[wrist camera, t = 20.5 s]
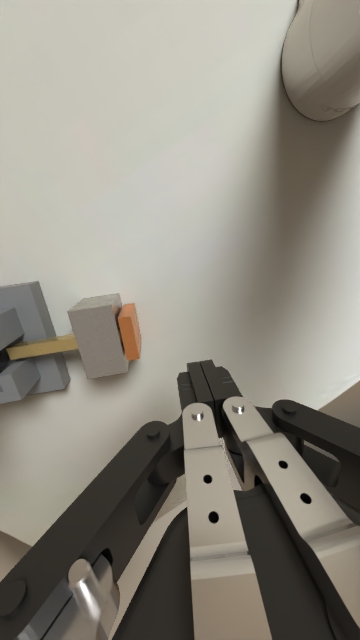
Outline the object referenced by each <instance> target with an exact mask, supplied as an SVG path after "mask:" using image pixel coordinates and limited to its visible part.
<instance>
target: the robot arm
mask: <svg viewBox="0 0 360 640" xmlns="http://www.w3.org/2000/svg"><path fill="white" fill-rule="evenodd" d="M282 75H283V83H284V86H285V89H286V92H287V95H288V97H289V99H290V100H291V102H292V104H293V105H294V107H295V108H296V109H297V110H298V111H299V112H300V113H301V114H303V115H304V116H306V117H307V118H310V119H313V120H316V121H327V120H331V119H335V118H337V117H339V116H341V115H343V114H344V113H346V112H347V111H349V110H350V109H352V108H354V107H355V106H357V105H359V104H360V0H299V8H298V11H297V14H296V16H295V18H294V20H293V21H292V23H291V25H290V27H289V30H288V33H287V36H286V39H285V42H284V47H283V53H282ZM187 371H188V372H183V373H179V376H178V378H177V382H178V390H179V397H180V404H181V410H182V414H181V416H180V417H179V419H178V420H176V421H175V422H173V423H171V424H169V425H166V424H165V423H164V422H161V421H152V422H149V423H147V424H145V425H144V426H142V427H141V428H140V429H139V431H138V432H137V433H136V434H135V435H134V436H133V437H132V438H131V439H130V440H129V442H128V443H127V444H126V445H125V446H124V447H123V448H122V449H121V450H120V451H119V453H118V454H117V455H116V456H115V457H114V458H113V459H112V460H111V461H110V462H109V463H108V465H107V466H106V467H105V468H104V469H103V470H102V471H101V472H100V473H99V474H98V476H97V477H96V478H95V479H94V480H93V481H92V482H91V483H90V484H89V485H88V487H87V488H86V489H85V490H84V491H83V492H82V493H81V494H80V495H79V496H78V497H77V499H76V500H75V501H74V502H73V503H72V504H71V505H70V506H69V507H68V508H67V510H66V511H65V512H64V513H63V514H62V515H61V516H60V517H59V518H58V519H57V521H56V522H55V523H54V524H53V525H52V526H51V527H50V528H49V529H48V530H47V531H46V533H45V534H44V535H43V536H42V537H41V538H40V539H39V540H38V541H37V542H36V544H35V545H34V546H33V547H32V548H31V549H30V550H29V551H28V552H27V554H26V555H25V556H24V557H23V558H22V559H21V560H20V561H19V562H18V563H17V565H15V567H14V568H13V569H12V570H11V571H10V572H9V573H8V574H7V575H6V577H5V578H4V579H3V580H2V581H1V582H0V640H108V637H109V634H110V631H111V629H112V626H113V624H114V622H115V619H116V616H117V613H118V609H119V603H120V592H119V587H118V584H117V581H118V580H119V578H120V576H121V575H122V573H123V571H124V570H125V568H126V566H127V565H128V563H129V561H130V559H131V558H132V556H133V554H134V553H135V551H136V549H137V548H138V546H139V544H140V543H141V541H142V539H143V537H144V536H145V534H146V532H147V531H148V529H149V527H150V526H151V524H152V522H153V521H154V519H155V517H156V516H157V514H158V512H159V510H160V509H161V507H162V505H163V504H164V502H165V500H166V499H167V497H168V495H169V494H170V492H171V490H172V489H173V487H174V485H175V483H176V479H177V478H178V477H180V476H181V475H183V474H185V477H186V493H187V507H186V508H185V509H184V510H182V511H181V512H180V513H179V514H178V515H177V516H176V517H175V518H174V519H173V521H172V522H171V523H170V525H169V526H168V528H167V530H166V531H165V534H164V536H163V537H162V539H161V541H160V544H159V546H158V547H157V550H156V551H155V553H154V555H153V557H152V560H151V562H150V564H149V566H148V568H147V570H146V572H145V574H144V576H143V578H142V580H141V582H140V584H139V586H138V588H137V590H136V592H135V594H134V596H133V598H132V600H131V602H130V604H129V606H128V608H127V610H126V612H125V614H124V616H123V618H122V620H121V622H120V624H119V626H118V628H117V630H116V632H115V634H114V636H113V638H112V640H360V428H358V427H356V426H353V425H351V424H349V423H346V422H344V421H341V420H339V419H336V418H334V417H331V416H329V415H326V414H324V413H322V412H319V411H317V410H314V409H312V408H309V407H307V406H304V405H302V404H299V403H297V402H294V401H291V400H279V401H276V402H275V403H274V404H273V406H272V408H261V407H256V406H254V405H253V404H252V403H251V402H250V401H249V400H248V399H246V398H243V396H242V395H241V393H240V391H239V389H238V388H237V386H236V384H235V382H234V381H233V379H232V377H231V375H230V374H229V372H228V370H226V369H225V368H223V367H222V366H221V367H215V365H214V363H213V361H212V360H205V361H200V362H193V363H187ZM222 437H223V438H224V441H225V451H226V454H227V456H228V458H229V461H230V463H231V465H232V468H233V470H234V472H235V475H236V477H237V479H238V482H239V484H240V486H241V489H242V491H237V490H233V487H232V484H231V480H230V476H229V471H228V467H227V463H226V459H225V455H224V451H223V447H222V445H220V443H219V439H218V438H222ZM304 440H305V441H307V442H309V443H311V444H313V445H315V446H317V447H319V448H321V449H323V450H325V451H327V452H329V453H331V454H333V455H334V456H335V457H336V458H337V459H338V460H339V461H340V462H337V461H335V460H333V459H331V458H329V457H327V456H325V455H323V454H321V453H319V452H317V451H315V450H314V449H312V448H310V447H308V446H306V445H304Z"/></svg>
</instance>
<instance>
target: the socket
mask: <svg viewBox="0 0 360 640" xmlns="http://www.w3.org/2000/svg"><path fill="white" fill-rule="evenodd" d="M51 337H56V333H55V330H54V327H53V324H52V321H51V318H50V315H49V312H48V309H47V306H46V303H45V300H44V297H43V294H42V291H41V288H40V285H39V282H38V281H37V282H30V283H22V284H15V285H8V286H1V287H0V350H2V349H3V348H5V347H6V346H7V345H8V346H11V345H12V344H14V343H20V342H26V341H32V340H39V339H45V338H51ZM69 381H70V376H69V373H68V370H67V367H66V364H65V361H64V358H63V355H62V352H56V353H50V354H43V355H37V356H31V357H25V358H19V359H13V360H11V359H9V361H8V362H7V363H6V364H5V365H4V366H2V367H1V368H0V404H2V403H7V402H13V401H19V400H22V399H23V398H24V397H25V396H26V395H32V394H38V393H43V392H49V391H55V390H60V389H65V387H66V386H67V384H68V382H69Z"/></svg>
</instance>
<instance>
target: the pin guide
mask: <svg viewBox="0 0 360 640" xmlns="http://www.w3.org/2000/svg"><path fill="white" fill-rule="evenodd" d="M121 310H122V304H121V300H120V295H119V293H118V294H111V295H104V296H98V297H91V298H84V299H82V300H81V301H80V302H79V303H77V304H76V305H75V306H74V307H72V308H71V309H70V310H69V311H68V315H69V319H70V322H71V326H72V329H73V332H74V336H75V339H76V342H77V346H78V349H79V352H80V356H81V359H82V362H83V366H84V369H85V372H86V376H87V379H92V378H98V377H104V376H109V375H115V374H121V373H126V372H128V366H129V361H127V358H126V353H125V349H124V344H123V342H122V339H121V335H120V331H119V322H118V316H119V314H120V312H121Z"/></svg>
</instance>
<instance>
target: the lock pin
mask: <svg viewBox="0 0 360 640" xmlns="http://www.w3.org/2000/svg"><path fill="white" fill-rule="evenodd" d="M118 322H119V331H120V335H121V339H122V342H123V344H124V349H125V353H126V358H127V361H129V360H135V359H140V348H141V335H140V330H139V324H138V319H137V314H136V309H135V304H134V303H132V304H126V305H123V307H122V310H121V312H120V314H119V316H118ZM74 349H78V346H77V342H76V339H75V336H74V334H70V335H64V336H58V337H51V338H45V339H39V340H32V341H26V342H20V343H14V344H12V345H11V346H9V347H8V348H6V350H7V352H8V354H9V357H10V359H11V360H13V359H19V358H25V357H31V356H37V355H43V354H50V353H56V352H62V351H68V350H74Z"/></svg>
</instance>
